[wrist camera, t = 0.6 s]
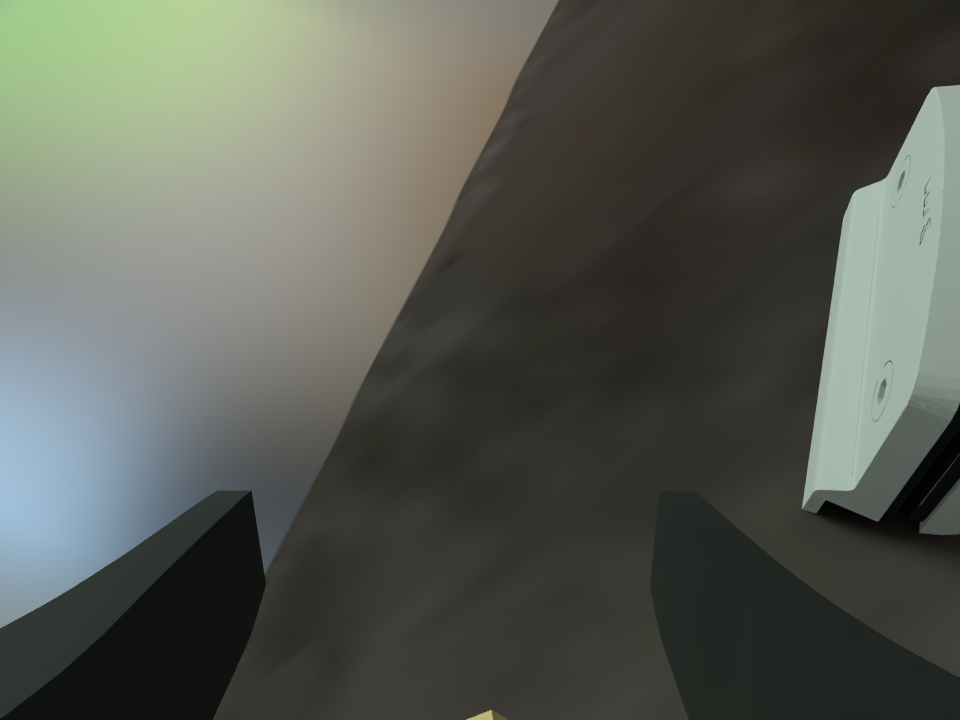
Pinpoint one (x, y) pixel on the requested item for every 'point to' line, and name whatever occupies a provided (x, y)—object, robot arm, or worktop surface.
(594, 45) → the worktop surface
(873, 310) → the pale green rounded block
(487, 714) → the bracket plate
